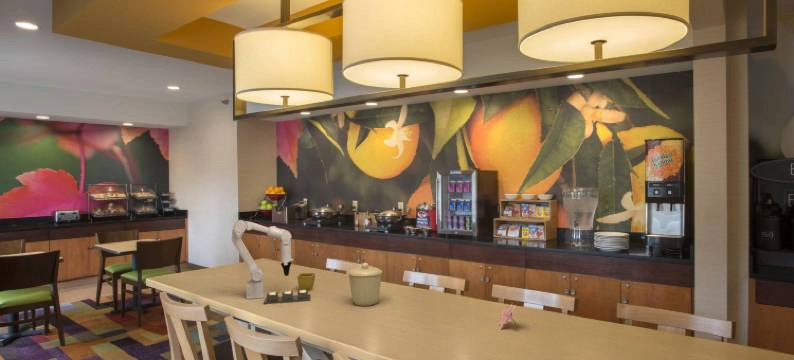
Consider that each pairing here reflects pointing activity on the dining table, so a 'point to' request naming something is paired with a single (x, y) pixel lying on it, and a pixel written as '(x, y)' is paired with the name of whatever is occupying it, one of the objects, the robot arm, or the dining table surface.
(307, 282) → the flower pot
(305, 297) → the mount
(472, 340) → the dining table surface
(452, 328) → the dining table surface
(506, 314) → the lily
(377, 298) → the canister
